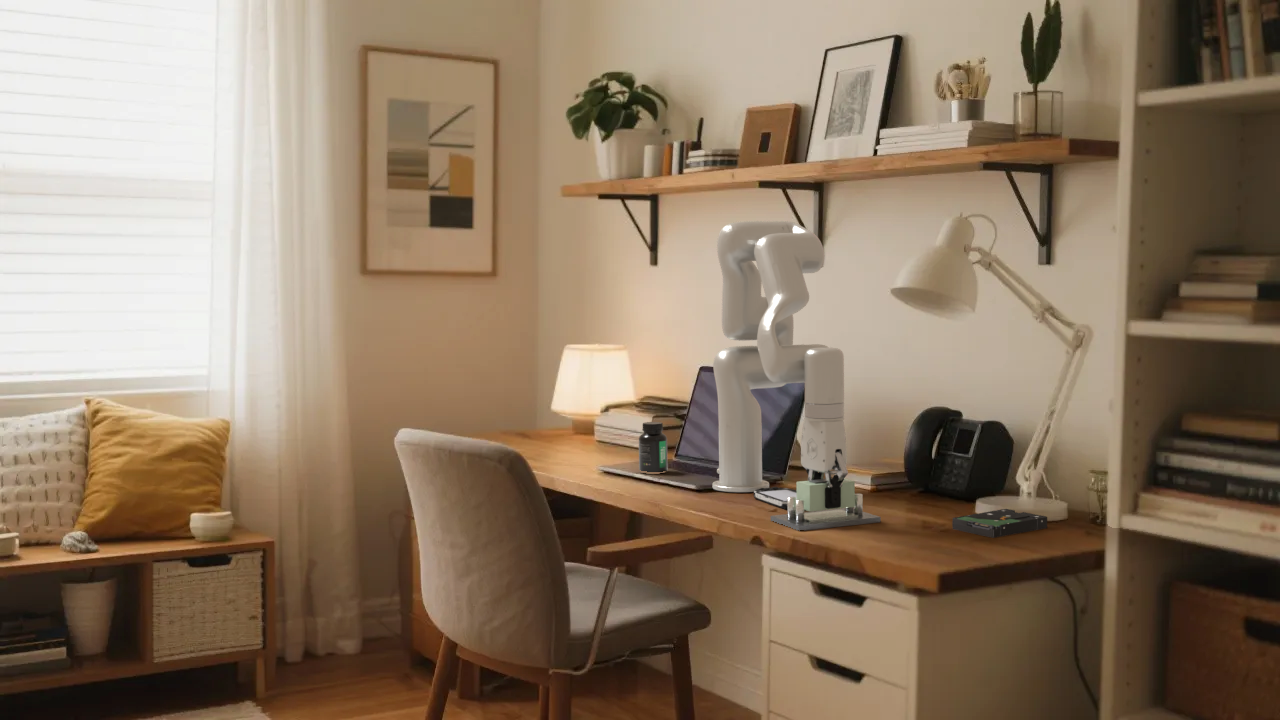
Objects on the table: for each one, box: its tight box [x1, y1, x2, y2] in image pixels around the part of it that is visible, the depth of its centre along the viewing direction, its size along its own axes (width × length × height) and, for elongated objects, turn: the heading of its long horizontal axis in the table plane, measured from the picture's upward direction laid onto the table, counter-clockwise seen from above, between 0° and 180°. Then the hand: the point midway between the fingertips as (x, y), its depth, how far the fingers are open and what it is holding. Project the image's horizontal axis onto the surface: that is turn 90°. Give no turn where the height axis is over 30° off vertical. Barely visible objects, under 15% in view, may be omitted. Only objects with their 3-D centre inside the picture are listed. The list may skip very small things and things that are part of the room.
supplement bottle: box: [638, 421, 669, 472], centre depth 321 cm, size 7×7×12 cm
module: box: [795, 478, 856, 512], centre depth 258 cm, size 5×10×5 cm, turn 113°
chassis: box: [770, 493, 882, 532], centre depth 259 cm, size 11×18×5 cm, turn 113°
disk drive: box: [951, 508, 1048, 539], centre depth 250 cm, size 10×3×15 cm
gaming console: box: [753, 486, 797, 511], centre depth 279 cm, size 19×9×2 cm, turn 21°
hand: (825, 504), depth 259 cm, fingers closed on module, 5 cm apart
